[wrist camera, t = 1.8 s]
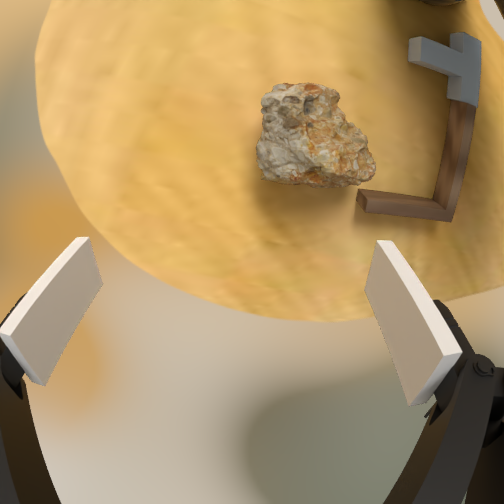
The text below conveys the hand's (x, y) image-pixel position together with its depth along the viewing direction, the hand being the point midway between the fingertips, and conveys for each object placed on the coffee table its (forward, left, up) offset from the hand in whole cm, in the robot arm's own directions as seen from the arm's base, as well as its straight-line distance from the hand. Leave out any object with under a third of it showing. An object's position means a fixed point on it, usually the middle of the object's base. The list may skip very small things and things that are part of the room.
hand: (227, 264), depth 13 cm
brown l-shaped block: (-3, +20, -22) cm, 29 cm away
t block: (-15, +22, -22) cm, 34 cm away
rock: (-3, +7, -22) cm, 23 cm away
